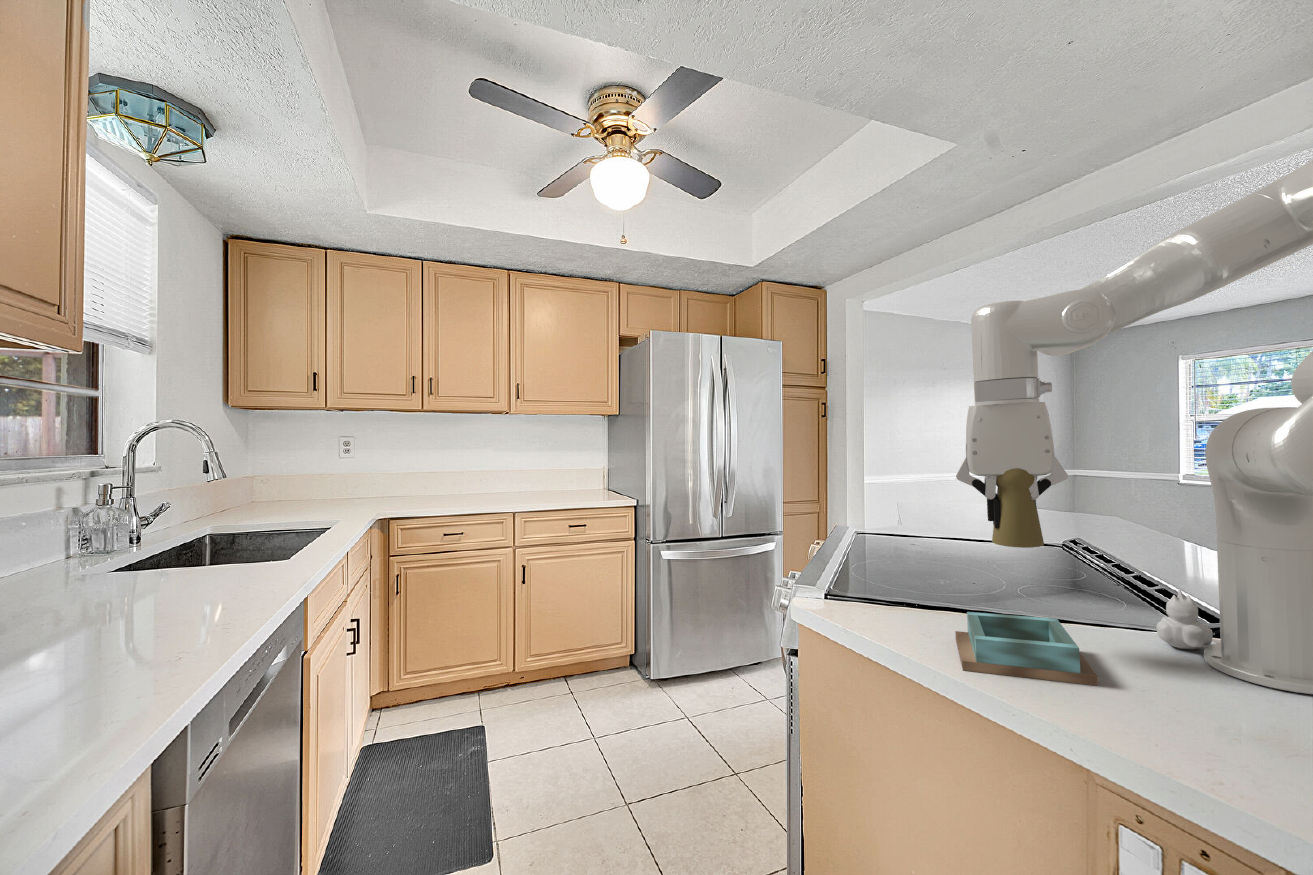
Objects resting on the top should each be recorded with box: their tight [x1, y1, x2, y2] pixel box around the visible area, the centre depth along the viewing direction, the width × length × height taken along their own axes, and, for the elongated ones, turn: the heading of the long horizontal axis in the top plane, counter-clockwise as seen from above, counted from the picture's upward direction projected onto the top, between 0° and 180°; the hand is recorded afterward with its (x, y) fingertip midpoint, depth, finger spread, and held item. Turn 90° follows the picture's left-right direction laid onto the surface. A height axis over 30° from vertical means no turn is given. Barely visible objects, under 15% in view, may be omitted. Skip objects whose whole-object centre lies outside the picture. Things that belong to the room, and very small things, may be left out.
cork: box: [991, 468, 1045, 549], centre depth 77 cm, size 6×6×11 cm
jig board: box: [954, 611, 1098, 686], centre depth 74 cm, size 14×11×4 cm
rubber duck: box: [1156, 587, 1214, 650], centre depth 74 cm, size 5×7×8 cm
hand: (1011, 525), depth 77 cm, fingers closed on cork, 2 cm apart
